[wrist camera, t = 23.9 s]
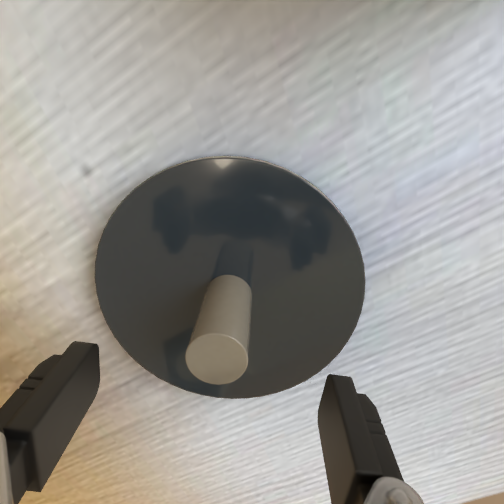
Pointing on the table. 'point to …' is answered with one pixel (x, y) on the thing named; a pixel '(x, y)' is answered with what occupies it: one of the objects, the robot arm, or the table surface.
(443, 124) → the table surface
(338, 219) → the pot lid
